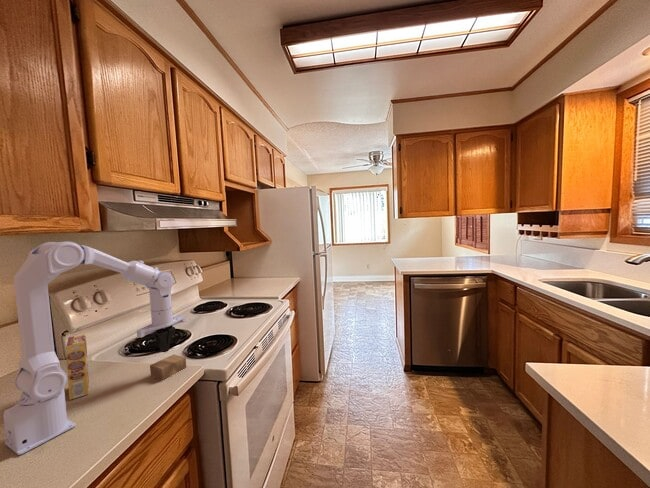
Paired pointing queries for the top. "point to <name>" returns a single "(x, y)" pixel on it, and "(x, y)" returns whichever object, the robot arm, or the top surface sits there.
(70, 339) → the candy box
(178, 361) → the walnut block
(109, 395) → the top surface
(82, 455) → the top surface
